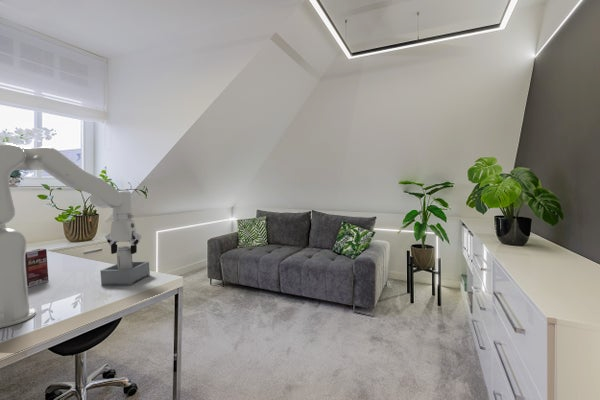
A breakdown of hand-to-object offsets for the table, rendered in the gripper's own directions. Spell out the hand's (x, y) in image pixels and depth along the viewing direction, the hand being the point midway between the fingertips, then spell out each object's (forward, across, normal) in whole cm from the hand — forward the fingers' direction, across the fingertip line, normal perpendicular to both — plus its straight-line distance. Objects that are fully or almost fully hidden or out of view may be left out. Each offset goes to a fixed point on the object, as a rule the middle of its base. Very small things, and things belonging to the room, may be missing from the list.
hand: (124, 253), depth 131 cm
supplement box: (+14, +41, +5) cm, 43 cm away
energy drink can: (+12, 0, -1) cm, 12 cm away
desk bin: (+13, 0, -1) cm, 13 cm away
